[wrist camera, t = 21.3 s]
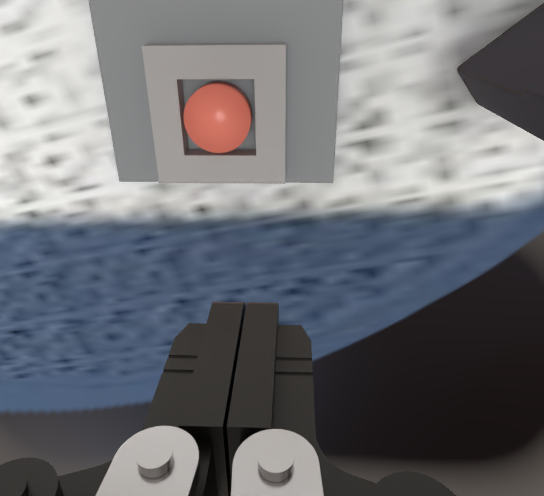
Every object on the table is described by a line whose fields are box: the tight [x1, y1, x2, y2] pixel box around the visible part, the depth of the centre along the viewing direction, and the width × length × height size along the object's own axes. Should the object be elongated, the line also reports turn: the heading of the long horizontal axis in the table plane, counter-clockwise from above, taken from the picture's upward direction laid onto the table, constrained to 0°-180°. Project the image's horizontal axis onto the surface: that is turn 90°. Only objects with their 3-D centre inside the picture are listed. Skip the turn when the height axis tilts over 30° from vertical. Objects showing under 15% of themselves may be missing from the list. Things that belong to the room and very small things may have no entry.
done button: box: [184, 81, 253, 153], centre depth 32 cm, size 4×4×2 cm
